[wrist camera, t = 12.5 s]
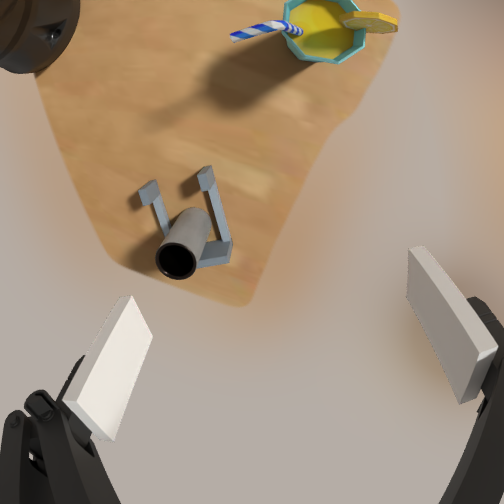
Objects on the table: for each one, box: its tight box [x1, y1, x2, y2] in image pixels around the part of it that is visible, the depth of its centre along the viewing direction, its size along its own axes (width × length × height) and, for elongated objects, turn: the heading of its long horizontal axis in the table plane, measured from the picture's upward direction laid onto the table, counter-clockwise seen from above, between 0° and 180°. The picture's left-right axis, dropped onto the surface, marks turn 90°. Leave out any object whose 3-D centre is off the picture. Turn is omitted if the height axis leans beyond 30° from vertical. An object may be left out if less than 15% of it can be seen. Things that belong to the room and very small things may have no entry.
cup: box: [230, 0, 398, 64], centre depth 24 cm, size 14×8×15 cm, turn 107°
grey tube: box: [155, 207, 212, 280], centre depth 37 cm, size 4×4×10 cm
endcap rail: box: [138, 165, 233, 269], centre depth 39 cm, size 11×8×5 cm
